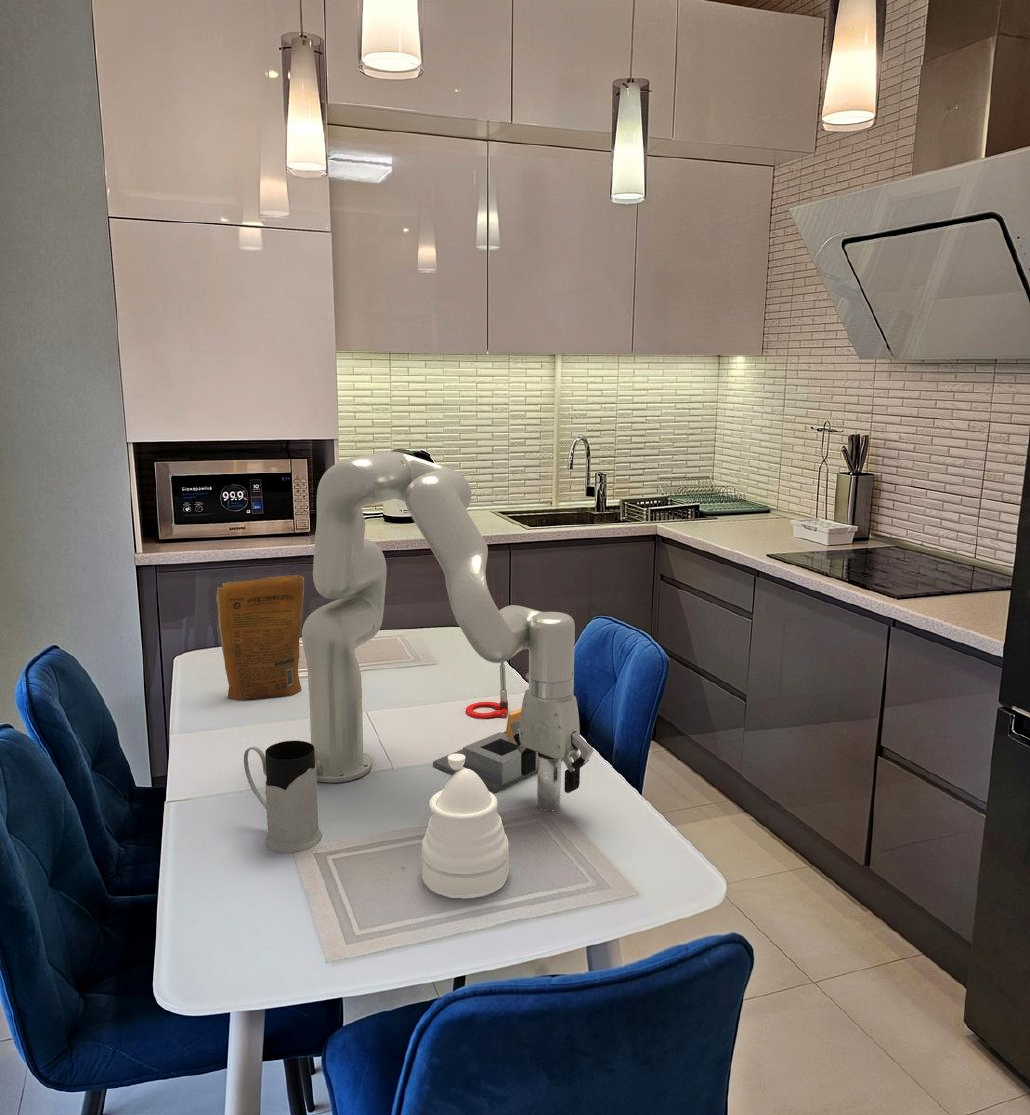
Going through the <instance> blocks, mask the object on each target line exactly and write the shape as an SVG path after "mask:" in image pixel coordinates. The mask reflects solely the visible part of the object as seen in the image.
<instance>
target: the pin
mask: <svg viewBox="0 0 1030 1115" xmlns="http://www.w3.org/2000/svg"><path fill="white" fill-rule="evenodd" d="M536 779H537V785H536V786H537V789H536V807H537V809H539V808H540V809H542V810H541V811H543V810H546V811H545V812H553V811H552V810H555V811H558V810H559V809H560V808H561V795H562V794H561V788H562V787H561V786H562V784H561V782H562V761H561V759H555V758H552V757H549V756H546V755H544V754H541V753H538V772H537V778H536ZM540 809H539V810H540ZM557 809H558V810H557Z"/></svg>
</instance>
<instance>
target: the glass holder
mask: <svg viewBox="0 0 1030 1115" xmlns="http://www.w3.org/2000/svg"><path fill="white" fill-rule="evenodd" d="M250 750H253V751H255V752H256V753H257V754H258V755H259V757H260V759H261V766H262V772H263V775H264V776H265V777H266V781H265V799H266V800H265V799H264V797H263V796H262V794H261V793H260V791H259V790H258V788H257V787H256V785H255V783H254V782H255V781H254V780H253V777H252V775H251V771H250V768H249V752H250ZM264 752H265V753H264ZM264 752H263V751H262V750H261V748H259V747H258V746H250V747H248V748H246V750H245V751H244V753H243V766H244V767H243V768H244V773H245V776H246V779H247V782H248V784H249V787H250V788H251V791H252V792H253V794H254V796H256V798H257V799H258V801H259V802H260V804H262V806H263V807H264V808H265V810H266V819H267V820H266V822H267V823H266V824H267V835H266V837H265V841H264V843H265V845H266V847H267V848H268V849H270V850H272V851H274V852H279V853H284V854H285V853H298V852H303V851H305V850H308V849H311V848H312V847H314V846H316V845H317V844H319V842H320V841H321V839H322V836H323V835H322V832H321V830H320V827H319V806H318V804H319V803H318V781H317V772H316V768H315V748H314V746H313V745H312V744H311V742H308V741H304V740H285V741H280V742H276V743H273V744H272V745H270V746H268V747H267V748H266V749H265V751H264Z"/></svg>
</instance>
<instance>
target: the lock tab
mask: <svg viewBox="0 0 1030 1115" xmlns="http://www.w3.org/2000/svg"><path fill="white" fill-rule="evenodd" d="M507 715H508V716H507V722H506V727H505V731H506V734H507V735H509V736H512V737H514V734H513V732H512V729H511V726H510V724H511V723H513V722H515V721H518V720H520V716H521V708H520V709H519V708H518V709H517V710H515V711H511V712H510V713H507Z"/></svg>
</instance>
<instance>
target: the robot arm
mask: <svg viewBox="0 0 1030 1115" xmlns="http://www.w3.org/2000/svg"><path fill="white" fill-rule="evenodd" d="M394 499H395V500H399V501H403V502H405V506H406V509H407V511H408V513H409V514H410V517H411V519H412V520H413V522H414V523H415V525H416V526H417V529H418V530H419V531H420V533H421V535H422V537H423V538H424V541H426V543H427V545H428V547H429V548H430V550H431V551H432V554H433V555H434V557H435V558H436V560H437V562H438V563H439V566H440V567H441V569H442V571H443V573H444V578H445V587H446V591H447V595H448V600H449V604H450V607H451V611H452V614H453V616H454V618H455V621H456V622H457V625H458V627H459V628H460V629H461V632H462V633H463V635H464V636H465V638H466V640H467V642H468V643H469V644H470V646H471V647H472V649H473V650H474V652H476V653H477V654H478V656H479V657H481V658H482V659H483V660H484V661H487V662H489V663H493V664H501V663H502V662H504V663H505V662H507V661H509V660H511V659H512V658H513V657H514V656H516V655H517V654H518V653H519V652H521V651H523V650H527V649H528V672H527V673H526V674H525V680H526V681H528V689H526V690H525V691H524V695H523V698H522V703H521V708H520V709H521V716H520V720H518V721H515V722H513V723H511V724H510V726H511V729H512V732H513V734H514V740H515V741H516V743H517V745H518V746H519V747H518V751H519V752H520V753H521V775H524V776H525V775H527V774H529V773H531V772H533V771H535V770H536V752H538V753H541V754H544V755H546V756H549V757H552V758H555V759H563V760H562V761H563V762H564V765H565V767H566V768H567V769H565V771H564V786H563V787H564V788H563V789H564V793H566V794H570V793H572V792H573V791H575V790H578V788H580V783H581V782H580V780H581V776H580V775H581V774H580V773H581V768H583V767H584V765H586V764H587V763H588V762H589V761H590V760H589V759H590V758H591V756H592V755H593V753H594V748H593V747H591V745H590V744H589V743H588V742H587V741H586V740H585V739H584V738H583V737H582V736H580V734H581V733H580V732H581V731H580V730H581V729H580V716H579V708H578V701H577V696H575V695H574V686H575V682H574V681H575V680H574V678H575V646H576V645H575V640H576V638H575V637H576V635H575V634H576V633H575V632H576V627H575V626H576V625H575V620H574V619H573V617H572V616H571V615H570V614H567V613H564V612H560V611H540V610H536V609H534V608H533V609H532V608H529V607H526V606H522V605H518V604H517V605H514V604H513V605H506V606H505V607H502V608H501V609H499V608H498V607H497V604H496V603H495V602H494V599H493V597H492V595H491V593H490V589H489V586H488V583H487V577H486V576H487V575H486V571H487V570H486V569H487V562H488V556H489V554H488V552H489V550H488V544H487V542H486V540H485V539H484V537H483V536H482V534H481V532H480V531H479V529H478V528H477V526H476V524H475V523H474V520H473V519H472V518H471V516H470V514H469V512H468V511H467V509H468V507H469V506H470V504H471V501H472V488H471V486H470V483H469V482H468V480H467V479H466V478H465V477H464V476H463V475H462V474H461V473H460V472H458V471H456V470H454V469H452V468H450V467H447V466H444V465H441V464H438V463H434V462H430V461H429V460H426V459H423V458H421V457H416V456H413V455H411V454H407V453H404V452H399V451H384V452H383V451H382V452H377V453H369V454H363V455H359V456H358V455H357V456H354V457H350V458H346V459H343V460H341V461H338V462H337V463H335V464H334V465H332V466H331V467H329V468H328V469H327V470H326V471H325V472H324V473H323V474H322V477H321V478H320V481H319V482H318V486H317V490H316V524H315V525H316V527H315V533H314V534H315V536H314V547H313V549H314V550H313V565H312V566H313V568H312V580H313V585H314V588H315V589H316V591H317V593H318V594H319V595H320V596H322V597H323V598H325V599H328V600H333V601H331V602H329V603H326V604H324V605H321V606H320V607H318V608H317V609H315V610H313V611H312V612H311V613H309V615H308V616H307V617H306V619H305V621H304V623H303V625H302V627H301V641H302V642H301V643H302V646H303V650H304V655H305V660H306V667H307V677H308V678H307V679H308V696H309V697H308V698H309V700H308V701H309V726H310V727H309V729H310V743H311V744H312V745H313V746H314V748H315V768H316V772H317V782H322V783H332V784H333V783H345V782H350V781H354V780H357V779H359V778H362V777H364V776H365V775H367V774H369V772H370V771H371V770H372V767H373V759H372V758H371V756H370V755H368V754H367V753H366V752H364V724H363V721H364V720H363V686H362V672H361V668H360V665H359V662H358V659H357V656H356V649H358V648H359V647H360V646H362V645H364V644H366V643H367V642H369V641H370V640H372V639H373V638H374V637H375V636H376V635H377V634H378V632H379V631H380V630H381V627H382V623H383V619H384V610H385V609H384V608H385V597H386V584H387V574H388V573H387V570H388V569H387V561H386V558H385V555H384V553H383V551H382V550H381V548H380V546H378V544H376V543H375V542H374V541H372V540H371V539H367V538H365V534H366V533H365V532H366V520H365V515H364V512H363V510H362V509H363V507H366V506H369V505H374V504H378V503H379V504H380V503H382V502H387V501H391V500H394ZM578 751H580V754H579V752H578ZM569 755H571V757H569ZM572 759H573V761H572Z"/></svg>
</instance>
